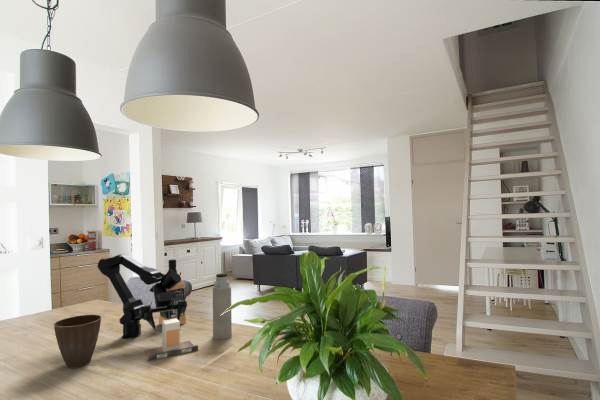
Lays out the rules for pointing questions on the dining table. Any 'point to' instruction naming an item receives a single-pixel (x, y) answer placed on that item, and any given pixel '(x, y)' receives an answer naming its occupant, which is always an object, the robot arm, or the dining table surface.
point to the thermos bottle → (221, 308)
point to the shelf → (158, 353)
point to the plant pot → (77, 338)
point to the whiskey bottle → (179, 297)
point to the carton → (170, 335)
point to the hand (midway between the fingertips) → (166, 327)
